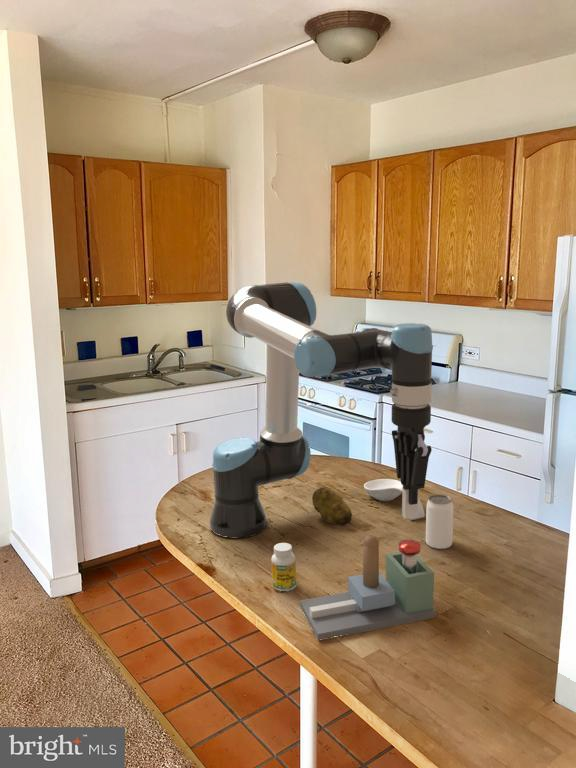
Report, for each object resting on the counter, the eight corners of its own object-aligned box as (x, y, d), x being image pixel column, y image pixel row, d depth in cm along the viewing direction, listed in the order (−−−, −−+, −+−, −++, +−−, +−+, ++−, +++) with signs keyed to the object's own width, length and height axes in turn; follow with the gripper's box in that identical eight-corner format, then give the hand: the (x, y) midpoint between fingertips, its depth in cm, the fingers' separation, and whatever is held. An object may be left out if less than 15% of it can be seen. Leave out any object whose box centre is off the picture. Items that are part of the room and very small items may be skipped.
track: (300, 607, 133) (299, 566, 131) (408, 587, 139) (409, 547, 137) (317, 640, 122) (316, 596, 120) (435, 617, 128) (436, 575, 126)
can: (452, 550, 155) (454, 505, 152) (425, 548, 156) (426, 503, 153) (451, 538, 161) (453, 494, 158) (425, 536, 162) (426, 493, 159)
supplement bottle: (293, 578, 144) (292, 539, 142) (298, 590, 139) (297, 550, 137) (270, 581, 143) (268, 542, 141) (275, 594, 138) (273, 554, 136)
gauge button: (394, 581, 133) (395, 541, 131) (413, 577, 135) (414, 538, 132) (403, 592, 129) (404, 551, 127) (423, 588, 130) (424, 547, 128)
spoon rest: (356, 493, 191) (356, 471, 190) (390, 486, 196) (390, 464, 194) (400, 524, 170) (400, 499, 168) (436, 516, 175) (437, 491, 173)
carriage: (347, 596, 133) (347, 530, 130) (378, 591, 135) (379, 525, 132) (362, 618, 126) (362, 548, 122) (394, 611, 128) (395, 542, 124)
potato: (326, 531, 167) (325, 503, 165) (308, 512, 178) (308, 485, 177) (355, 526, 169) (354, 498, 167) (336, 507, 181) (335, 481, 179)
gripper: (379, 398, 128) (379, 506, 133) (408, 414, 116) (406, 533, 121) (413, 394, 130) (412, 501, 135) (445, 410, 118) (442, 527, 123)
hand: (409, 516), depth 128 cm, fingers closed
